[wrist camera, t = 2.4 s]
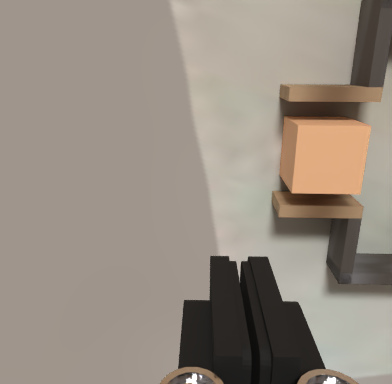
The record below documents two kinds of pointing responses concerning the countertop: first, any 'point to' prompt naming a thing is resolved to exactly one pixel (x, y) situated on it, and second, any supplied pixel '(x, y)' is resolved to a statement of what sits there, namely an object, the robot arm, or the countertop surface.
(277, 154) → the countertop surface
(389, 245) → the countertop surface
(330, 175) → the block
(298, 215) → the trap channel
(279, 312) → the robot arm
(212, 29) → the countertop surface
